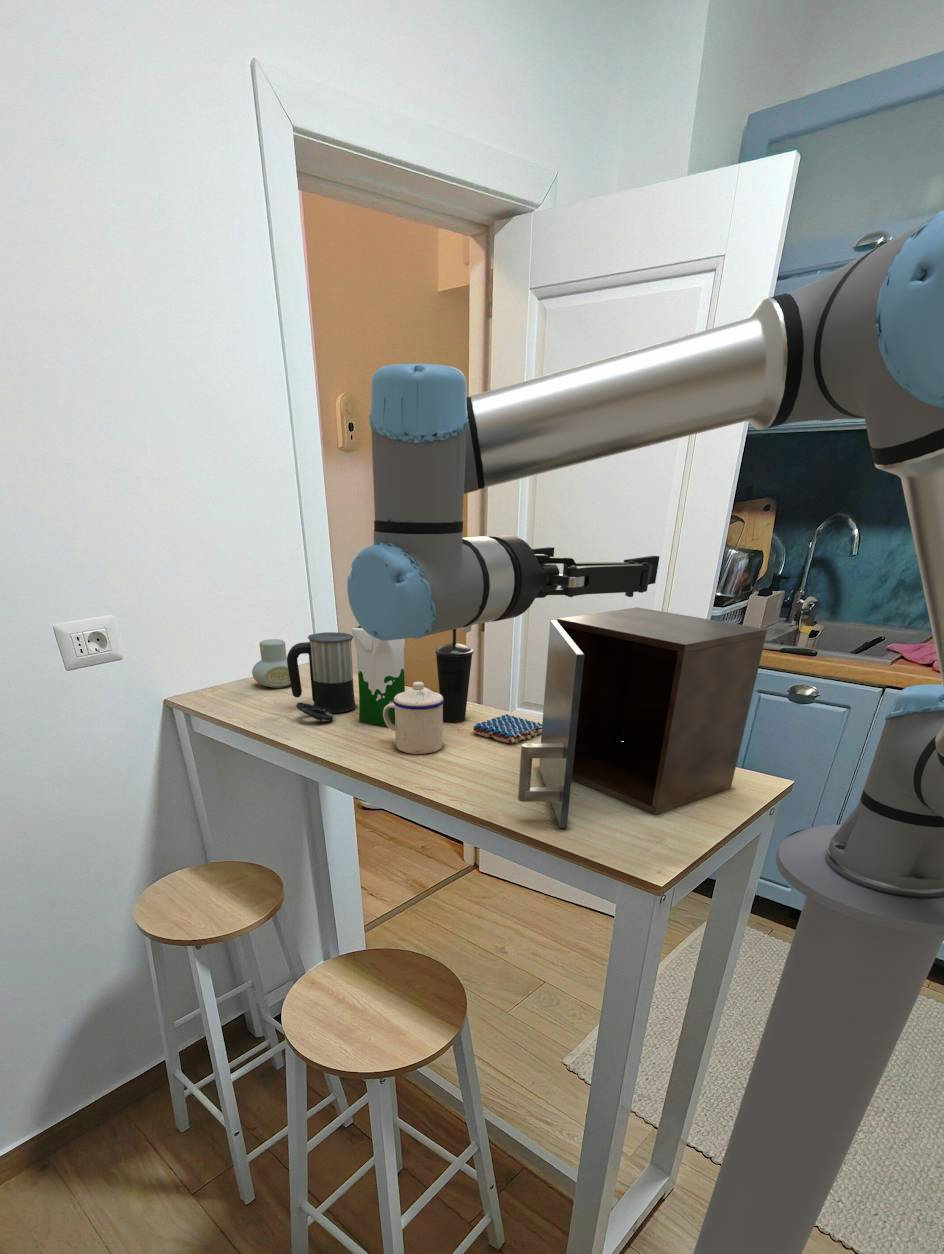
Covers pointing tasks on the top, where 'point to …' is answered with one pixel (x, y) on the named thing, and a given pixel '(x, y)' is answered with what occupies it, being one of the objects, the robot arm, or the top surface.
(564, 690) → the cupboard door
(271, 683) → the air freshener
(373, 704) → the milk carton
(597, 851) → the top surface
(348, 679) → the milk frother
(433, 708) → the teacup with lid
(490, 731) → the woven mat
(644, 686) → the cupboard
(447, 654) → the drinking cup
